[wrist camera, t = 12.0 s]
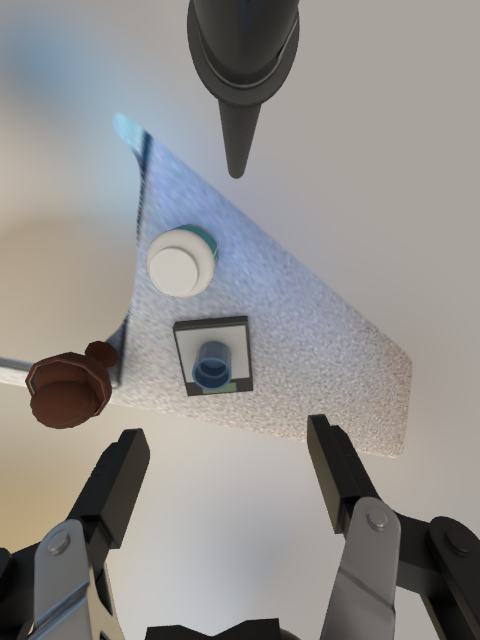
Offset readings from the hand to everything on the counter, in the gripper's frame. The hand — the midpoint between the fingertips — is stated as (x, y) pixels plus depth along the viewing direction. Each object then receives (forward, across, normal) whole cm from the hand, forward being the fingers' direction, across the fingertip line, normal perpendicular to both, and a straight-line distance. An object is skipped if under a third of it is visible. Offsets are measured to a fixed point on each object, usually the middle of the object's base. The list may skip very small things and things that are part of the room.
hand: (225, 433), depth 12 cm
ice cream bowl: (+28, +24, +11) cm, 39 cm away
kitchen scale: (+28, +4, +13) cm, 31 cm away
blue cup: (+25, +4, +12) cm, 28 cm away
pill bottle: (+28, +5, -5) cm, 29 cm away
